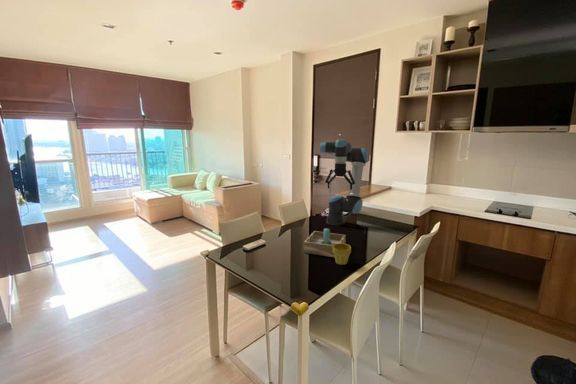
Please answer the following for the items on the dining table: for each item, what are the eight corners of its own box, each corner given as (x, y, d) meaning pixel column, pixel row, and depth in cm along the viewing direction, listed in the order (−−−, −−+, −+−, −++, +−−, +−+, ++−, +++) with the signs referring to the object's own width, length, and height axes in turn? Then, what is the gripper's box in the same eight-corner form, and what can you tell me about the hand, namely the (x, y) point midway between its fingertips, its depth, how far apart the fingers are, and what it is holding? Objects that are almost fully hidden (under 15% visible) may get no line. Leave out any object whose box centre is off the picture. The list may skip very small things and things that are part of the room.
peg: (322, 247, 181) (322, 230, 178) (324, 245, 184) (324, 228, 182) (328, 248, 179) (329, 230, 177) (330, 246, 183) (330, 228, 180)
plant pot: (339, 268, 153) (340, 251, 151) (328, 260, 162) (329, 245, 160) (354, 264, 157) (354, 247, 155) (342, 257, 166) (343, 241, 164)
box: (314, 240, 193) (314, 230, 192) (345, 244, 185) (345, 234, 184) (303, 252, 173) (303, 241, 172) (338, 258, 165) (338, 247, 164)
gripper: (321, 162, 187) (320, 193, 191) (358, 163, 178) (357, 195, 182) (324, 161, 194) (323, 191, 198) (360, 162, 184) (358, 193, 189)
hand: (339, 193), depth 190 cm, fingers open, 13 cm apart
